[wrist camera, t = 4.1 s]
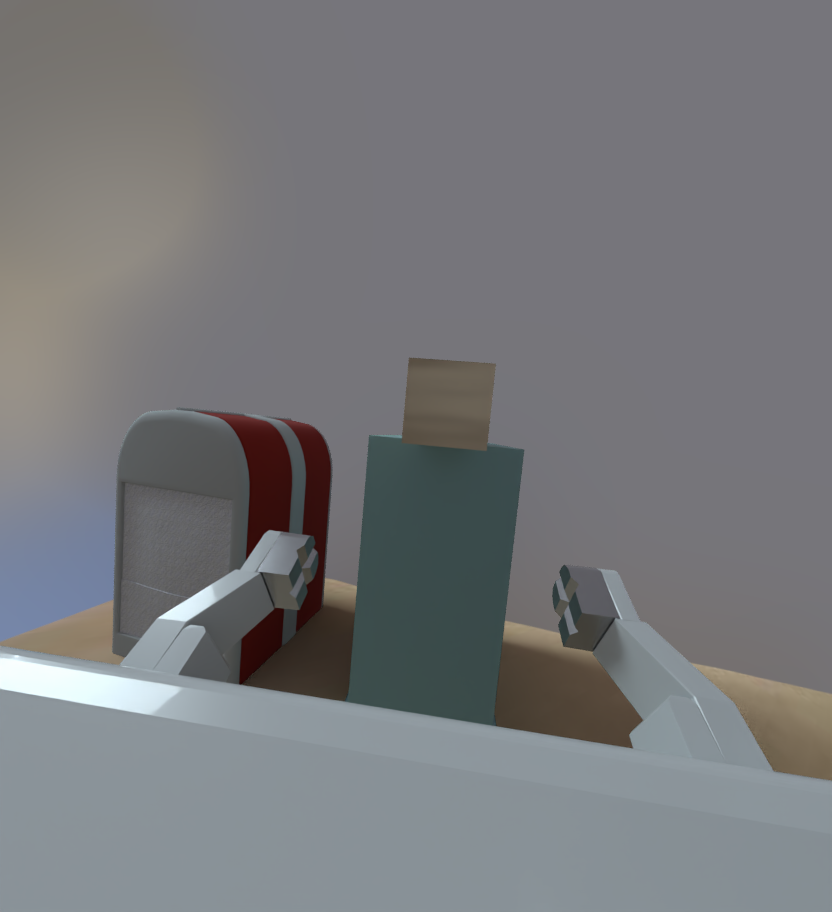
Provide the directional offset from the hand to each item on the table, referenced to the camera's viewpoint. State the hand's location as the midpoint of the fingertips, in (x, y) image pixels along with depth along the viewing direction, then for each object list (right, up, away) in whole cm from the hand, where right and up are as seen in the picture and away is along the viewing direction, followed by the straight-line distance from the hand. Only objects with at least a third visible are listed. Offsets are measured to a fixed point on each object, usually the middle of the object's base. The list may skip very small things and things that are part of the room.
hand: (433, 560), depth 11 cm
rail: (+2, +5, +16) cm, 17 cm away
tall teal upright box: (0, -21, +25) cm, 33 cm away
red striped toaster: (-24, -18, +31) cm, 43 cm away
